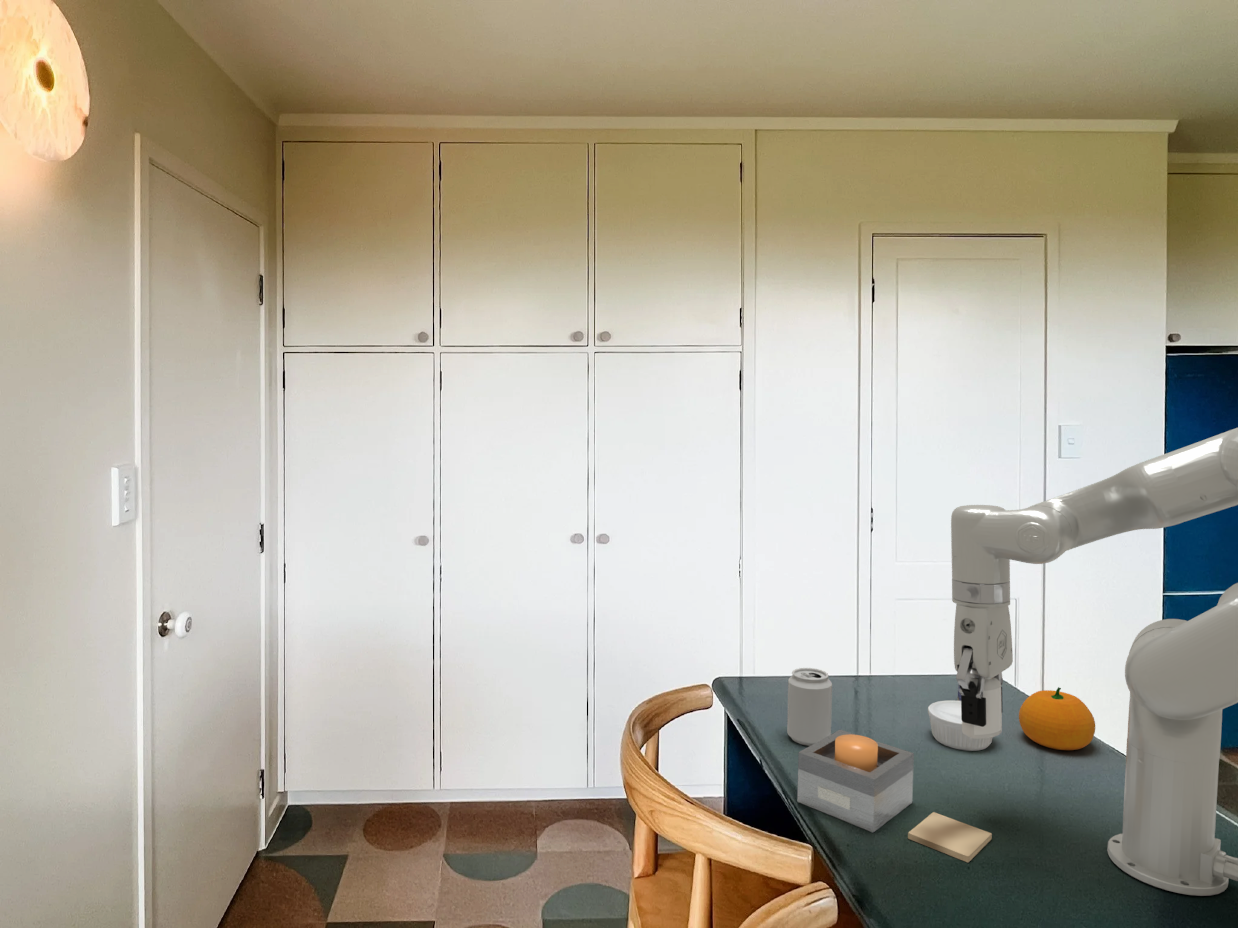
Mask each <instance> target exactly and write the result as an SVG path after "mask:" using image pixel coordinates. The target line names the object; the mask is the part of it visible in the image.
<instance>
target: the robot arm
mask: <svg viewBox="0 0 1238 928" xmlns="http://www.w3.org/2000/svg"><path fill="white" fill-rule="evenodd" d="M1236 506H1238V427H1236V428H1233V429H1229V430H1227V431H1225V432H1221V433H1219V434H1216V435H1214V436H1211V437H1208V438H1206V439H1203V440H1199V441H1198V442H1194V443H1192V444H1189V445H1186V446H1183V447H1181V448H1178V449H1175V450H1172V451H1170V452H1167V453H1164V454H1161V455H1158V456H1156V457H1153V458H1150V459H1147V460H1144V461H1141V462H1139V463H1135V464H1134V465H1132V466H1129V467H1127V468H1124V469H1123V470H1120V472H1118V473H1116V474H1114V475H1112V476H1109V477H1107V478H1104V479H1102V480H1100V481H1097V482H1094V483H1091V484H1089V485H1087V486H1083V487H1080V488H1078V489H1075V490H1073V491H1069V492H1067V493H1063V494H1061V495H1058V496H1055V497H1053V498H1050V499H1047V500H1045V501H1041V502H1038V503H1036V504H1033V505H1030V506H1028V507H1025V508H1022V509H1011V510H1006V509H1005V508H1003V507H1001V506H998V505H990V504H967V505H960V506H958V507H955V508H954V509H953V511H952V513H951V518H950V519H951V520H950V525H951V526H950V529H951V531H950V532H951V533H950V537H951V540H950V541H951V602H953V603H954V604H956V605H955V615H954V629H953V662H954V663H953V664H954V669H955V671H956V676H955V677H956V678H955V679H956V680H955V681H956V682H957V684H958V683H959V686H960V694H961V719H962V721H963V722H964V723H969V724H973V725H977V726H981V727H984V726H985V725H986V698H984V697H983V692H984V683H985V678H986V679H991V678H993V677H994V678H996V679H998V680H999V681H1000V683H1001V705H1002V706H1003V682H1004V680H1003V679H1004V678H1003V672H1004V671H1006V670H1007V669H1009V668H1010V667H1011V666H1012V664H1013V662H1014V661H1013V659H1014V657H1013V655H1014V654H1013V639H1012V627H1011V626H1012V625H1011V624H1012V623H1011V615H1010V609H1009V607H1010V605H1011V581H1010V580H1011V568H1010V567H1011V560H1012V561H1015V562H1020V563H1026V564H1033V565H1043V564H1047V563H1048V564H1049V563H1051V562H1053V561H1055V560H1057V559H1058V558H1060V557H1061V556H1062V555H1063V554H1065V553H1066V552H1067V551H1069V550H1072V549H1076V548H1078V547H1081V546H1084V545H1087V544H1091V543H1094V542H1097V541H1101V540H1103V539H1107V538H1109V537H1113V536H1116V535H1117V536H1118V535H1119V534H1124V533H1128V532H1132V531H1138V530H1139V531H1140V530H1156V529H1158V530H1159V529H1164V528H1167V527H1172V526H1176V525H1180V524H1182V523H1184V522H1185V523H1186V522H1188V521H1191V520H1195V519H1197V518H1201V517H1203V516H1206V515H1210V514H1213V513H1216V512H1220V511H1223V510H1226V509H1229V508H1231V507H1232V508H1233V507H1236ZM971 669H972V670H977V671H978V673H979V675H977V674H971V673H970V672H971ZM1124 677H1125V683H1126V685H1127V688H1128V690H1129V703H1128V704H1129V705H1128V717H1127V718H1128V720H1127V737H1126V752H1125V753H1126V754H1125V773H1124V774H1125V775H1124V776H1125V777H1124V791H1123V792H1124V793H1123V795H1124V796H1123V797H1124V798H1123V813H1122V814H1123V815H1122V833H1118V834H1115V835H1114V836H1111V837H1110V838H1109V840H1108V841H1107V849H1106V851H1107V855H1108V857H1109V858H1110V860H1111V861H1112V862H1113V863H1114V864H1115V865H1116V866H1117V867H1118V868H1119V869H1121V870H1122V871H1123V872H1124V873H1126V874H1128V875H1129V876H1131V877H1132V878H1135V879H1136V880H1139V881H1140V882H1143V883H1145V884H1147V885H1150V886H1152V887H1154V888H1158V889H1162V890H1165V891H1169V892H1173V893H1177V894H1182V895H1188V896H1198V897H1204V896H1206V897H1207V896H1214V895H1219V894H1221V893H1223V892H1225V890H1227V888H1228V887H1229V879H1231V880H1233V881H1235V882H1238V857H1235V856H1230V855H1228V854H1227V853H1226V852H1225V851H1223V850H1221V843H1222V840H1221V839H1220V838H1216V837H1215V835H1216V834H1215V833H1216V823H1217V822H1216V820H1217V804H1218V803H1217V800H1218V784H1219V769H1220V768H1219V764H1220V758H1221V743H1222V727H1223V725H1222V723H1223V710H1224V709H1226V708H1228V707H1231V706H1233V705H1236V704H1238V582H1236V583H1234V584H1232V585H1231V586H1230V587H1228V588H1227V589H1225V591H1223V593H1222V594H1221V596H1220V597H1219V599H1218V603H1217V604H1216V606H1214V607H1211V608H1210V609H1208V610H1206V611H1204V612H1203V613H1200V614H1198V615H1197V616H1195V617H1193V618H1191V619H1189V620H1185V619H1179V618H1166V619H1160V620H1157V621H1154V622H1152V623H1150V624H1148V625H1146V626H1145V627H1144V628H1143V629H1141V631H1139V633H1138V634H1137V635H1136V636H1135V638H1134V640H1133V642H1132V644H1131V646H1130V650H1129V652H1128V655H1127V657H1126V662H1125V666H1124ZM970 678H974V679H978V682H977V686H976V685H975V683H974V682H973V681H971V679H970ZM1003 711H1004V710H1002V713H1003Z"/></svg>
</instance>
